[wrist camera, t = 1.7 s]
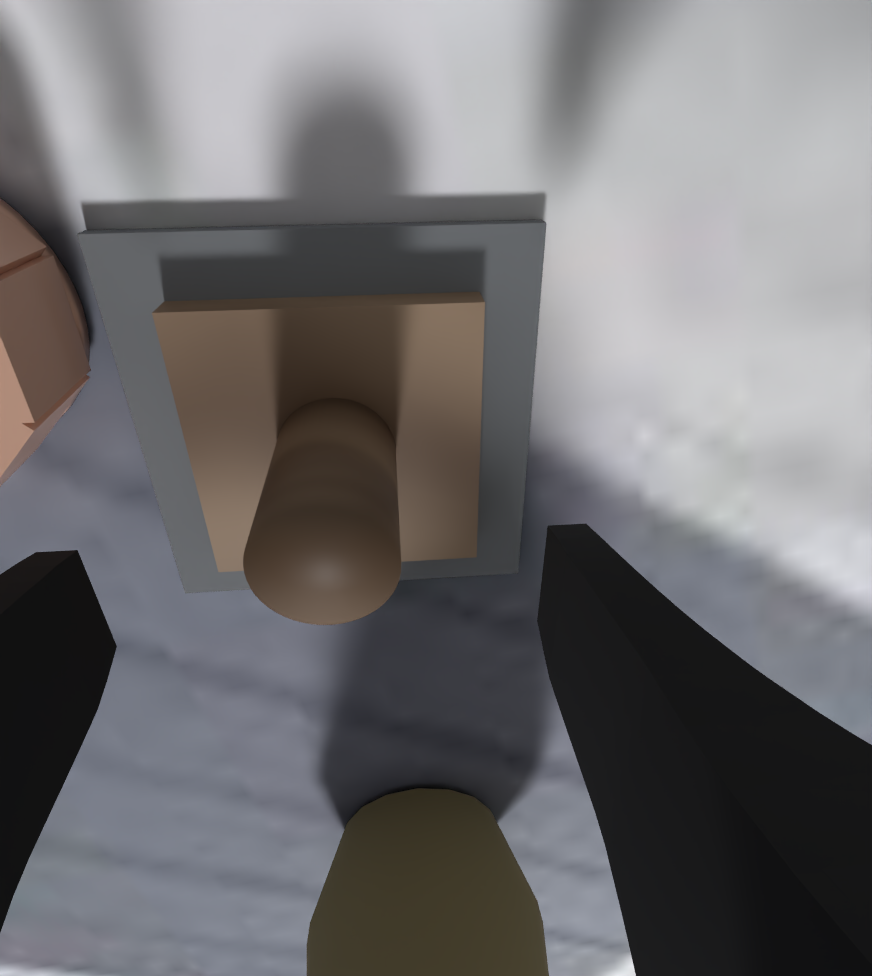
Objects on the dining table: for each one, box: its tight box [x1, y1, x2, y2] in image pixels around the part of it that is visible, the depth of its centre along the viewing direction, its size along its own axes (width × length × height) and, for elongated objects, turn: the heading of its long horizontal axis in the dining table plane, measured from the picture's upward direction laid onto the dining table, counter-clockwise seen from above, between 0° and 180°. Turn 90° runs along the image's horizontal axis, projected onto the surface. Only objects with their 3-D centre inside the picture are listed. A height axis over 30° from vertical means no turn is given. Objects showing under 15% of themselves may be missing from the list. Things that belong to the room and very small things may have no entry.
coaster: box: [77, 220, 546, 593], centre depth 14 cm, size 9×9×1 cm
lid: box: [152, 292, 485, 625], centre depth 12 cm, size 6×6×5 cm
